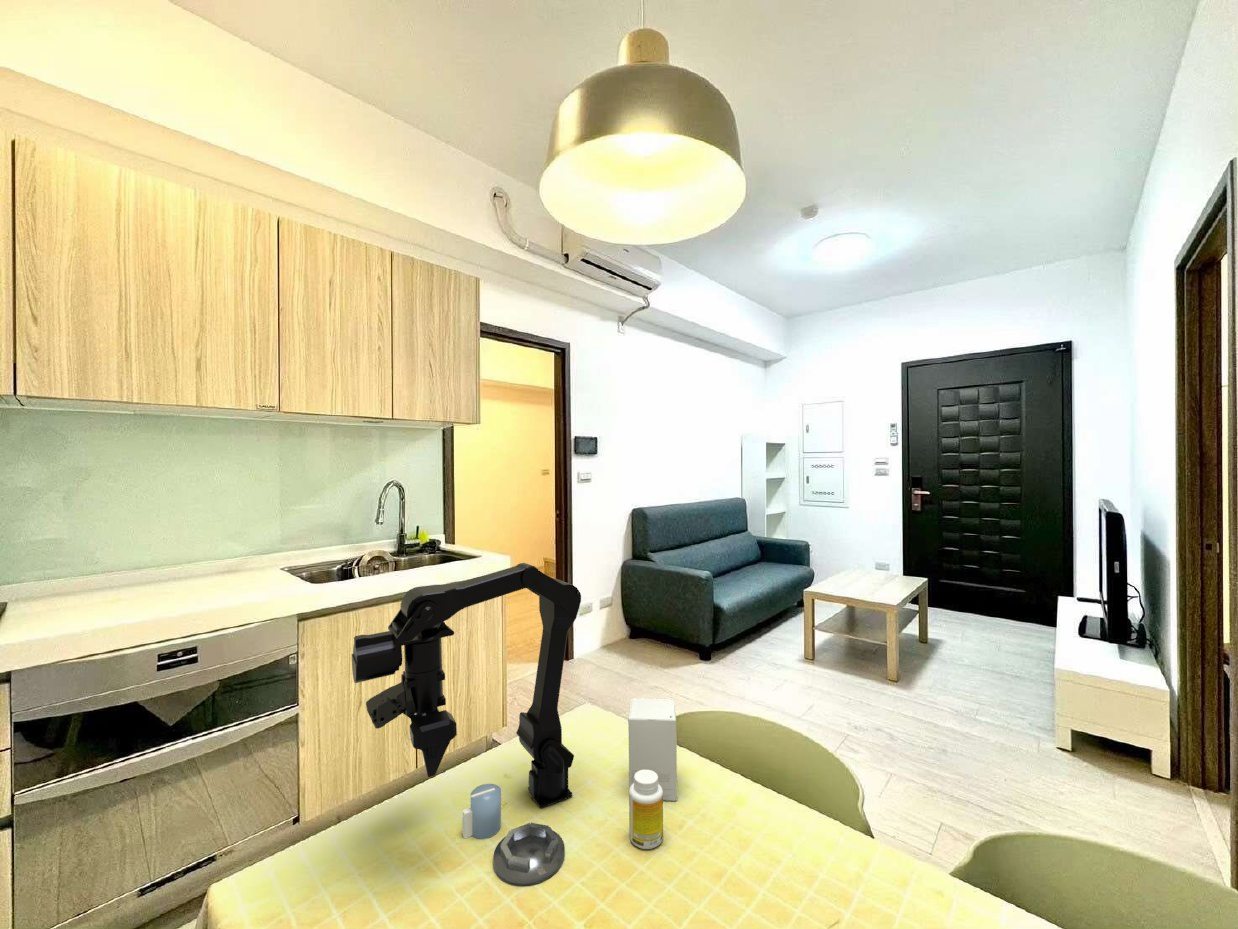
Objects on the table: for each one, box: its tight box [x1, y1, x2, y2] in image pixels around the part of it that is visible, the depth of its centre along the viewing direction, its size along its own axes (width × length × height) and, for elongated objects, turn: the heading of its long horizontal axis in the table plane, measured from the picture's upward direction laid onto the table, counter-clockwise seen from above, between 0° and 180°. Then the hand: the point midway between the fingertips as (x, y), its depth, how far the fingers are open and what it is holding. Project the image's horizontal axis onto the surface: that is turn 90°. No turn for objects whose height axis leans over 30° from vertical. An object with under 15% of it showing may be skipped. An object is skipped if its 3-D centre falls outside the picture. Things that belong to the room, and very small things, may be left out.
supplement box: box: [627, 697, 678, 802], centre depth 98 cm, size 9×9×15 cm
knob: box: [461, 783, 502, 840], centre depth 86 cm, size 6×5×6 cm
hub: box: [492, 822, 566, 887], centre depth 80 cm, size 11×11×2 cm
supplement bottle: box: [628, 770, 664, 850], centre depth 84 cm, size 6×6×10 cm
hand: (426, 761), depth 83 cm, fingers open, 9 cm apart
